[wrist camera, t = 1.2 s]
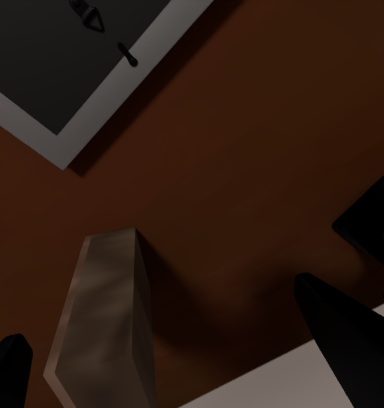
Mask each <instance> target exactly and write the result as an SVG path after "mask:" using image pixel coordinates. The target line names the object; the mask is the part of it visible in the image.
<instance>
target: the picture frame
mask: <svg viewBox="0 0 384 408" xmlns="http://www.w3.org/2000/svg"><path fill="white" fill-rule="evenodd" d="M213 1H214V0H0V126H1V127H3V128H4V129H6V130H7V131H8V132H10V133H11V134H13V135H14V136H15V137H17V138H18V139H20V140H21V141H22V142H24V143H25V144H27V145H28V146H29V147H31V148H32V149H34V150H35V151H36V152H38V153H39V154H41V155H42V156H43V157H45V158H46V159H48V160H49V161H50V162H52V163H53V164H55V165H56V166H57V167H59V168H60V169H61V170H63V171H64V169H65V168H66V167H67V166H68V165H69V164H70V163H71V162H72V160H73V159H74V158H75V157H76V156H77V155H78V154H79V153H80V151H81V150H82V149H83V148H84V147H85V146H86V145H87V143H88V142H89V141H90V140H91V139H92V138H93V137H94V136H95V134H96V133H97V132H98V131H99V130H100V129H101V128H102V126H103V125H104V124H105V123H106V122H107V121H108V120H109V119H110V117H111V116H112V115H113V114H114V113H115V112H116V111H117V110H118V108H119V107H120V106H121V105H122V104H123V103H124V102H125V100H126V99H127V98H128V97H129V96H130V95H131V94H132V93H133V91H134V90H135V89H136V88H137V87H138V86H139V85H140V83H141V82H142V81H143V80H144V79H145V78H146V77H147V76H148V74H149V73H150V72H151V71H152V70H153V69H154V68H155V67H156V65H157V64H158V63H159V62H160V61H161V60H162V59H163V57H164V56H165V55H166V54H167V53H168V52H169V51H170V50H171V48H172V47H173V46H174V45H175V44H176V43H177V42H178V40H179V39H180V38H181V37H182V36H183V35H184V34H185V33H186V31H187V30H188V29H189V28H190V27H191V26H192V25H193V24H194V22H195V21H196V20H197V19H198V18H199V17H200V16H201V14H202V13H203V12H204V11H205V10H206V9H207V8H208V7H209V5H210V4H211V3H212V2H213Z"/></svg>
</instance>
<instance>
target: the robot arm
mask: <svg viewBox="0 0 384 408" xmlns="http://www.w3.org/2000/svg"><path fill="white" fill-rule="evenodd" d="M332 227H333V228H334V229H335V230H336V231H337V232H338V233H340V234H341V235H342V236H343V237H344V238H346V239H347V240H348V241H349V242H351V243H352V244H353V245H354V246H355V247H357V248H358V249H359V250H360V251H362V252H363V253H364V254H365V255H367V256H369V255H372V256H374V257H375V258H376V259H377V260H378V261H379V262H381V263H382V264H383V265H384V176H383V177H382V178H381V179H380V180H379V181H377V182H376V183H375V184H374V185H373V186H372V187H371V188H370V189H369V190H368V191H367V192H366V193H365V194H364V195H363V196H362V197H360V198H359V199H358V200H357V201H356V202H355V203H354V204H353V205H352V206H351V207H350V208H349V209H348V210H347V211H346V212H344V213H343V214H342V215H341V216H340V217H339V218H338V219H337V220H336V221H335V222H334V223H333V225H332ZM294 296H295V299H296V301H297V303H298V305H299V307H300V310H301V312H302V314H303V316H304V318H305V321H306V323H307V325H308V327H309V329H310V331H311V334H312V336H313V338H314V340H315V342H316V344H317V345H318V347H319V349H320V351H321V352H322V354H323V356H324V357H325V359H326V361H327V362H328V364H329V366H330V368H331V369H332V371H333V373H334V375H335V376H336V378H337V380H338V381H339V383H340V385H341V386H342V388H343V390H344V391H345V393H346V395H347V396H348V398H349V400H350V402H351V403H352V405H353V407H354V408H384V317H383V316H382V315H380V314H378V313H376V312H375V311H373V310H371V309H370V308H368V307H366V306H365V305H363V304H361V303H359V302H358V301H356V300H354V299H353V298H351V297H349V296H348V295H346V294H344V293H342V292H341V291H339V290H337V289H336V288H334V287H332V286H331V285H329V284H327V283H325V282H324V281H322V280H320V279H319V278H317V277H315V276H314V275H312V274H310V273H301V274H297V275H296V277H295V285H294ZM383 298H384V295H383ZM32 358H33V351H32V348H31V347H30V345H29V343H28V342H27V340H26V339H25V337H24V336H23V335H22V334H14V335H9V336H7V337H5V338H4V339H3V340H2V341H1V342H0V408H24V404H25V399H26V393H27V387H28V381H29V375H30V370H31V364H32Z"/></svg>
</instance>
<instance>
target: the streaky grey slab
mask: <svg viewBox="0 0 384 408" xmlns="http://www.w3.org/2000/svg"><path fill="white" fill-rule="evenodd" d="M43 376H44V378H45V379H46V381H47V382H48V384H49V385H50V387H51V388H52V390H53V391H54V393H55V394H56V396H57V397H58V399H59V400H60V402H61V403H62V405H63V406H64V408H156V393H155V371H154V349H153V328H152V306H151V288H150V284H149V280H148V276H147V272H146V268H145V264H144V260H143V256H142V252H141V249H140V245H139V241H138V237H137V233H136V229H135V228H129V229H124V230H118V231H113V232H107V233H102V234H96V235H91V236H85V239H84V243H83V246H82V249H81V252H80V256H79V259H78V262H77V266H76V269H75V272H74V275H73V279H72V282H71V285H70V289H69V292H68V295H67V298H66V302H65V305H64V308H63V312H62V315H61V318H60V321H59V325H58V328H57V331H56V335H55V338H54V341H53V344H52V348H51V351H50V354H49V358H48V361H47V364H46V367H45V371H44V374H43Z"/></svg>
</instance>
